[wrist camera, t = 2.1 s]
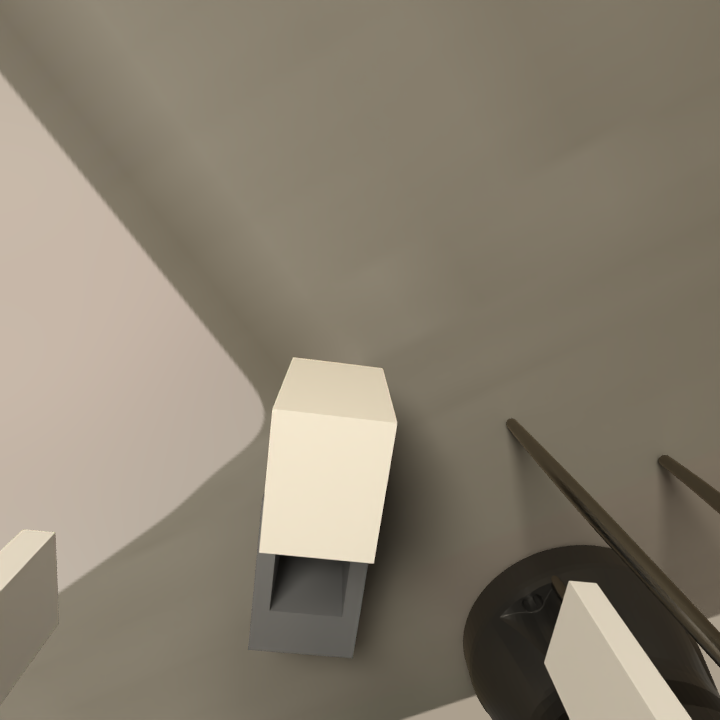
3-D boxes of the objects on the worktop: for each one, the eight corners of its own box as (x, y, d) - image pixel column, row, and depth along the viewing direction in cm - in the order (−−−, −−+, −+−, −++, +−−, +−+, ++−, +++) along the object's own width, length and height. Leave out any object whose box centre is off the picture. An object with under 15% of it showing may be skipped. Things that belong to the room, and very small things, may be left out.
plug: (376, 345, 29) (397, 423, 17) (363, 437, 30) (373, 563, 19) (301, 336, 28) (272, 408, 17) (291, 429, 30) (258, 552, 19)
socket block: (371, 467, 31) (376, 511, 26) (351, 596, 33) (352, 658, 29) (275, 456, 30) (261, 500, 26) (262, 587, 33) (248, 649, 28)
